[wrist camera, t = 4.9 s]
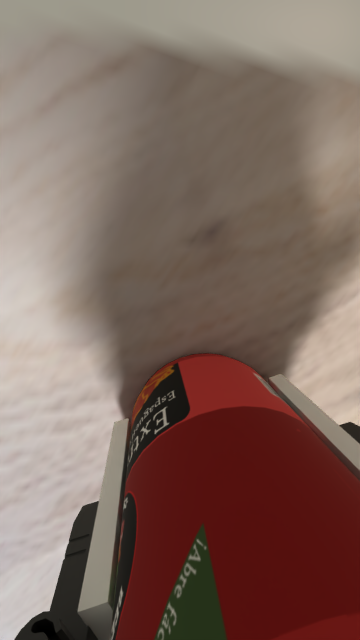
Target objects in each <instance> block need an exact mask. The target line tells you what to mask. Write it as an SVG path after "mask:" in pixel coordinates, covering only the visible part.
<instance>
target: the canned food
mask: <svg viewBox="0 0 360 640" xmlns="http://www.w3.org/2000/svg"><path fill="white" fill-rule="evenodd" d="M110 640H360V481H359V480H358V479H357V478H356V476H355V475H354V474H353V473H352V472H351V471H350V470H349V469H348V468H347V467H346V466H345V465H344V464H343V463H342V462H341V461H340V459H339V458H338V457H337V456H336V455H335V454H334V453H333V452H332V451H331V450H330V449H329V448H328V447H327V446H326V445H325V444H324V443H323V441H322V440H321V439H320V438H319V437H318V436H317V435H316V434H315V433H314V432H313V431H312V430H311V429H310V428H309V427H308V426H307V424H306V423H305V422H304V421H303V420H302V419H301V418H300V417H299V416H298V415H297V414H296V413H295V412H294V411H293V410H292V409H291V408H290V406H289V405H288V404H287V403H286V402H285V401H284V400H283V399H282V398H281V397H280V396H279V395H278V394H277V393H276V392H275V391H274V389H273V388H272V387H271V386H270V385H269V384H268V383H267V382H266V381H265V380H264V379H263V378H262V377H261V376H260V375H259V374H258V373H257V372H256V371H254V370H253V369H252V368H251V367H249V366H247V365H245V364H244V363H242V362H240V361H237V360H235V359H233V358H229V357H226V356H223V355H218V354H209V353H205V354H193V355H189V356H185V357H181V358H179V359H177V360H175V361H172V362H170V363H168V364H167V365H165V366H164V367H162V368H161V369H160V370H158V371H157V372H156V373H155V374H154V375H153V376H152V377H151V378H150V379H149V380H148V382H147V383H146V385H145V387H144V388H143V390H142V391H141V393H140V395H139V396H138V398H137V401H136V403H135V406H134V409H133V415H132V424H131V434H130V445H129V455H128V465H127V475H126V485H125V495H124V505H123V515H122V525H121V535H120V545H119V555H118V565H117V575H116V585H115V595H114V605H113V615H112V626H111V636H110Z"/></svg>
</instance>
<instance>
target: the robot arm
mask: <svg viewBox="0 0 360 640" xmlns="http://www.w3.org/2000/svg"><path fill="white" fill-rule="evenodd" d="M269 385H270V386H271V387H272V388H273V389H274V391H275V392H276V393H277V394H278V395H279V396H280V397H281V398H282V399H283V400H284V401H285V402H286V403H287V404H288V405H289V406H290V408H291V409H292V410H293V411H294V412H295V413H296V414H297V415H298V416H299V417H300V418H301V419H302V420H303V421H304V422H305V423H306V424H307V426H308V427H309V428H310V429H311V430H312V431H313V432H314V433H315V434H316V435H317V436H318V437H319V438H320V439H321V440H322V441H323V443H324V444H325V445H326V446H327V447H328V448H329V449H330V450H331V451H332V452H333V453H334V454H335V455H336V456H337V457H338V458H339V459H340V461H341V462H342V463H343V464H344V465H345V466H346V467H347V468H348V469H349V470H350V471H351V472H352V473H353V474H354V475H355V476H356V478H357V479H358V480H359V481H360V426H358V425H356V424H354V423H352V422H348V423H345V424H342V425H338V424H337V423H336V422H335V421H333V420H332V419H331V418H330V417H329V416H328V415H327V414H326V413H324V412H323V411H322V410H321V409H320V408H319V407H318V406H317V405H316V404H314V403H313V402H312V401H311V400H310V399H309V398H308V397H307V396H305V395H304V394H303V393H302V392H301V391H300V390H299V389H298V388H297V387H295V386H294V385H293V384H292V383H291V382H290V381H289V380H288V379H286V378H285V377H284V376H283V375H282V374H280V375H276V376H273V377H269ZM130 434H131V424H130V421H129V418H128V419H124V420H121V421H117V422H114V427H113V432H112V437H111V442H110V447H109V453H108V458H107V463H106V468H105V473H104V478H103V483H102V488H101V494H100V499H99V501H97V502H94V503H91V504H88V505H84V506H83V507H82V509H81V511H80V512H79V514H78V516H77V518H76V519H75V521H74V524H73V527H72V531H71V535H70V538H69V544H68V546H67V549H66V553H65V559H64V560H63V564H62V567H61V571H60V575H59V578H58V582H57V586H56V589H55V593H54V597H53V600H52V604H51V608H50V611H47V612H42V613H40V614H39V615H37V616H35V617H34V618H32V619H31V620H30V621H29V622H28V623H27V624H26V625H25V626H24V627H23V628H22V629H21V630H20V632H19V633H18V635H17V637H16V638H15V640H110V636H111V626H112V615H113V605H114V595H115V585H116V575H117V565H118V555H119V545H120V535H121V525H122V515H123V505H124V495H125V485H126V475H127V465H128V455H129V445H130Z"/></svg>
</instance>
